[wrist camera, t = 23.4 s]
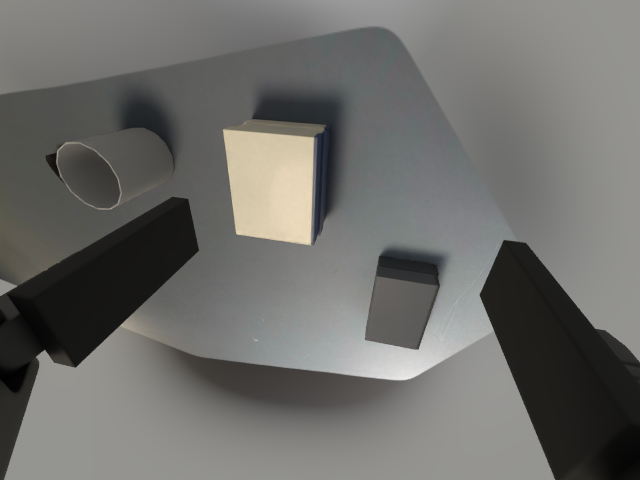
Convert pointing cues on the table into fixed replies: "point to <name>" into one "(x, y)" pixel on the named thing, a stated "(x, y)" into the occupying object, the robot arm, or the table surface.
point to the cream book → (274, 182)
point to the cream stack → (324, 153)
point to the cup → (114, 166)
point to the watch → (53, 164)
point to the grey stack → (401, 302)
